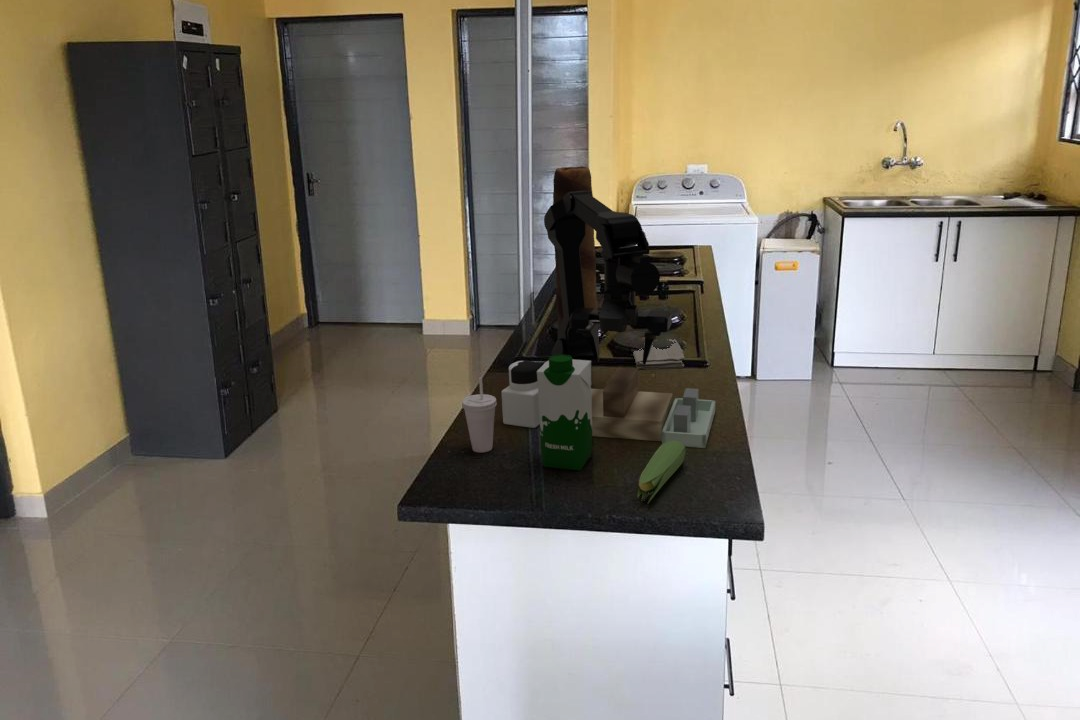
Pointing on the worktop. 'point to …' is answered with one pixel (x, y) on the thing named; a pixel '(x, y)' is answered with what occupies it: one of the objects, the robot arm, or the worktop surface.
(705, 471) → the worktop surface
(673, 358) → the washcloth
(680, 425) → the tile
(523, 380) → the medicine bottle
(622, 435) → the board
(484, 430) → the smoothie
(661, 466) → the edible corn
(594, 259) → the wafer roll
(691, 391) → the tile
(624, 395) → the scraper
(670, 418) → the tray
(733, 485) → the worktop surface
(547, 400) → the milk carton
